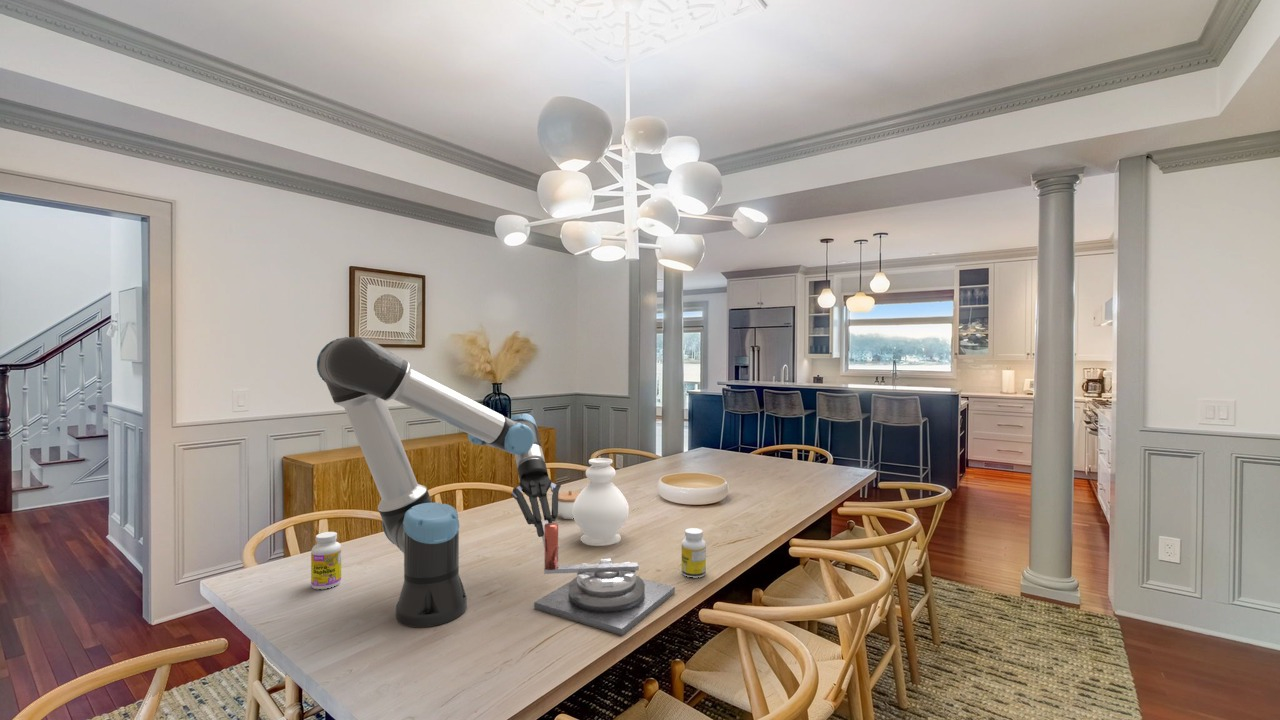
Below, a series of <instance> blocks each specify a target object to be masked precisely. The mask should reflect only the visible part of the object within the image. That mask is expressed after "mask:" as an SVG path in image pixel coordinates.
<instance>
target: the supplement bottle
mask: <svg viewBox="0 0 1280 720" xmlns="http://www.w3.org/2000/svg"><path fill="white" fill-rule="evenodd" d="M337 539H338V533H337V532H335V531H325V532H321V533H319V534H316V535H315V542H316V544H315V545H313V546H312V549H311V550H310V551H311V553H310V556H311V557H310V558H311V559H310V561H311V562H310V563H311V564H310V565H311V566H310V569H311V570H310V571H311V572H310V576H311V577H310V584H311V588H312V589H314V590H319V589H321V590H328V589H327V588H329V589H332V588H335V587H337V586H339V584H341V581H342V544H341V543H340V542H338V541H337ZM334 586H335V587H334ZM331 587H332V588H331Z"/></svg>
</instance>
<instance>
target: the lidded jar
mask: <svg viewBox="0 0 1280 720" xmlns="http://www.w3.org/2000/svg"><path fill="white" fill-rule="evenodd" d="M580 492H581V491H572V490H568V491H564V492H559V493H558V516H560V517H561V518H562V517H563V518H566V519H565V520H573V519H572V518H573V515H572V508H573V504H574V502H575V500H576V498H577V497H578V495H579V494H580ZM563 518H562V519H563Z"/></svg>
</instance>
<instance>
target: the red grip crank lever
mask: <svg viewBox="0 0 1280 720" xmlns="http://www.w3.org/2000/svg"><path fill="white" fill-rule="evenodd" d="M543 548H544V568H543V574H544V575H549V574H550V575H551V574H552V575H554V574H555V575H556V574H575V573H577V574H576V577H577V587H578V589H579V590H580V591H581V592H583V593H585V594H588V595H592V596H598V597H612V596H618V595H622V594H625V593H628V592H630V591H632V590H633V589H634V588H635V586H636V576H637V572H636V571H639V562H630V561H625V562H612V558H611V557H610V558H600V562H599V563H584V562H583V563H580V564H562V565H561V564H559V524H558V523H556V522H552V523H548V524H545V525H544V544H543Z"/></svg>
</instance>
